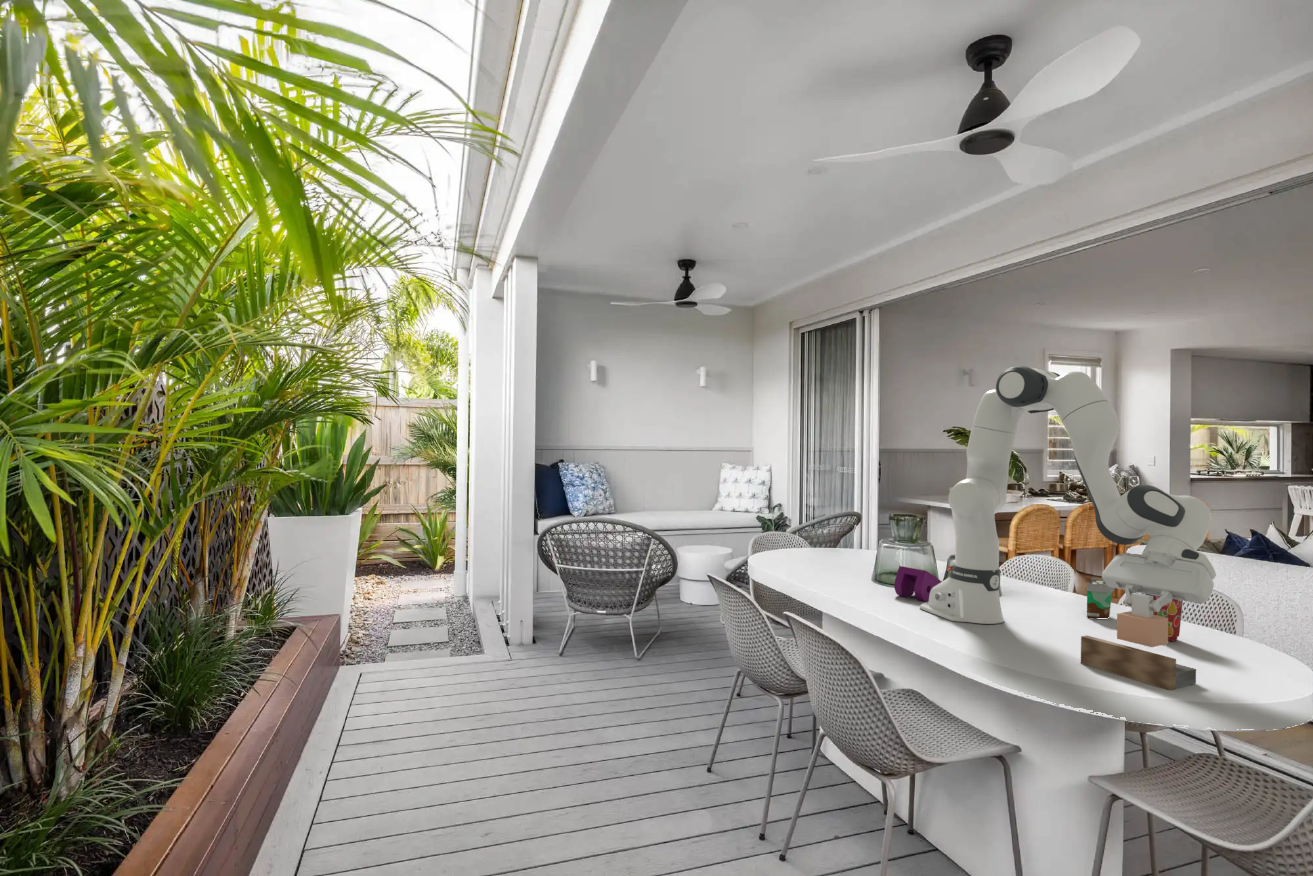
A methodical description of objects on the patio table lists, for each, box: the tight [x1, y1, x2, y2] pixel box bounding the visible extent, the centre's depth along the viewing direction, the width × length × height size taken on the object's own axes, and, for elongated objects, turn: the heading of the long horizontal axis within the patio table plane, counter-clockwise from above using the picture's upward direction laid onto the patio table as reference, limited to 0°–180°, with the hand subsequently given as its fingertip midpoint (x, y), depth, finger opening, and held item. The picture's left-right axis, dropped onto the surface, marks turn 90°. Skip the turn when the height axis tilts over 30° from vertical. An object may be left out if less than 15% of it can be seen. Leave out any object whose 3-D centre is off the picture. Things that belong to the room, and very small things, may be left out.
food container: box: [1086, 577, 1116, 619], centre depth 199 cm, size 12×6×10 cm, turn 143°
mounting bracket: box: [894, 565, 942, 603], centre depth 220 cm, size 10×8×18 cm
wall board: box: [1080, 635, 1197, 691], centre depth 150 cm, size 18×10×6 cm, turn 27°
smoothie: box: [1145, 594, 1184, 642], centre depth 177 cm, size 8×8×20 cm
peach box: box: [1116, 592, 1169, 648], centre depth 150 cm, size 7×6×10 cm
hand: (1140, 607), depth 150 cm, fingers closed on peach box, 3 cm apart
